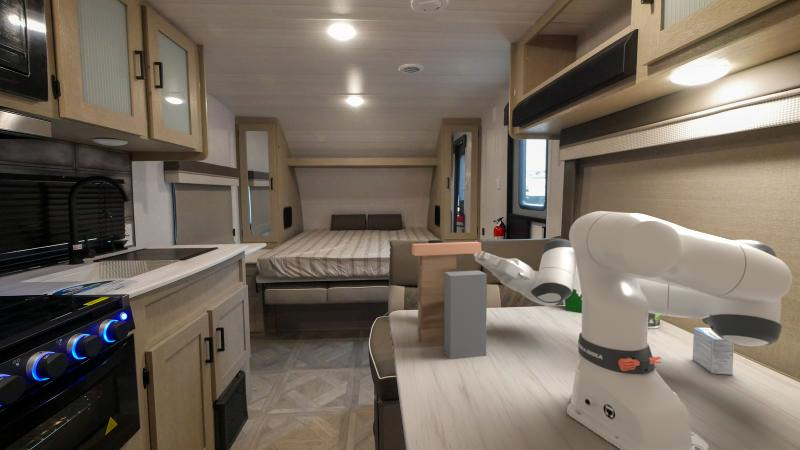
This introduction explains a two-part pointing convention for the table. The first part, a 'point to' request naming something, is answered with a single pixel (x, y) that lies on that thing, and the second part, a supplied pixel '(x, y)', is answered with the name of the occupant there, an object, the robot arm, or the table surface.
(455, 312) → the gray block
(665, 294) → the robot arm
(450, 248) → the rail
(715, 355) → the medicine box
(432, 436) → the table surface
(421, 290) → the walnut post
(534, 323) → the table surface
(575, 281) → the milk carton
